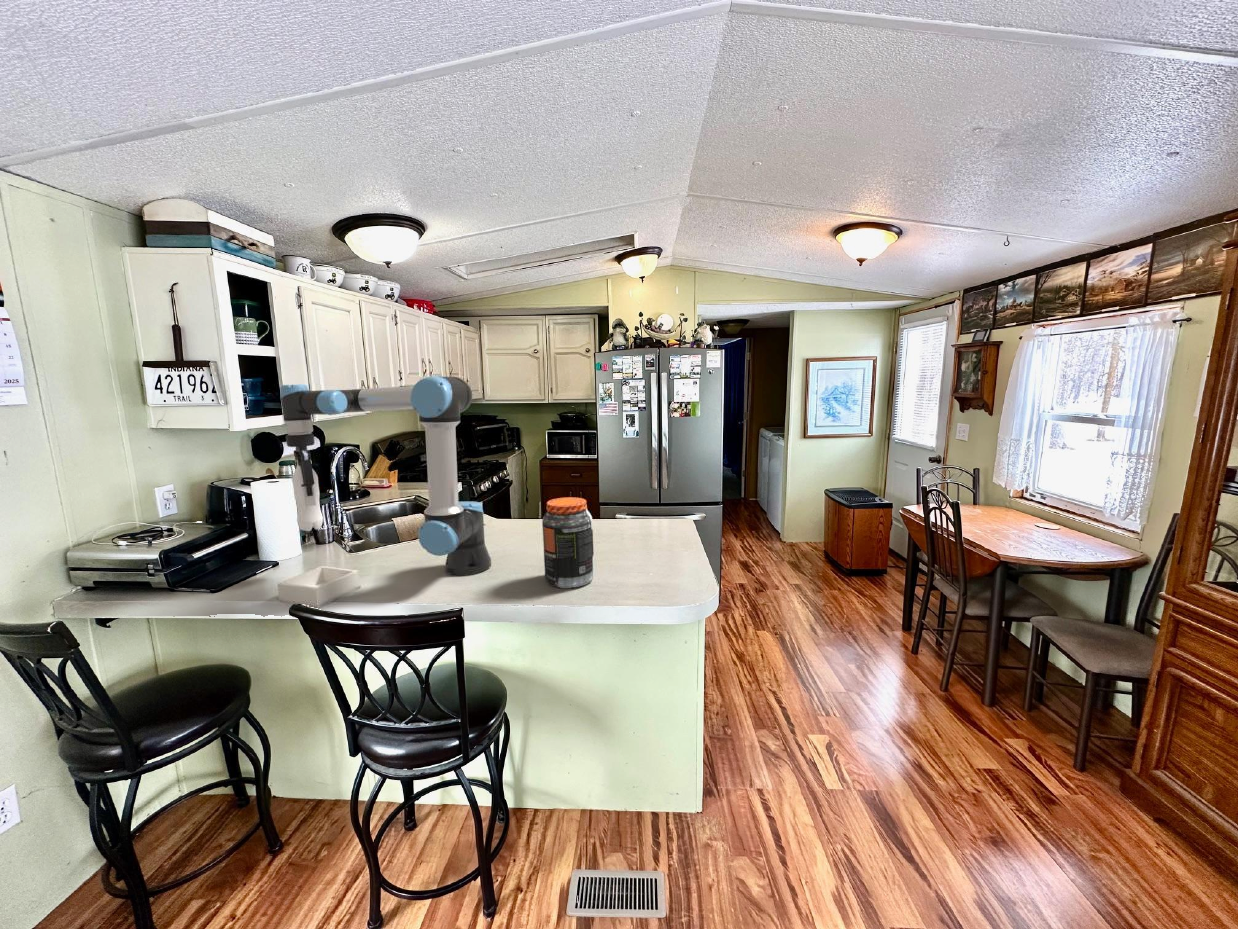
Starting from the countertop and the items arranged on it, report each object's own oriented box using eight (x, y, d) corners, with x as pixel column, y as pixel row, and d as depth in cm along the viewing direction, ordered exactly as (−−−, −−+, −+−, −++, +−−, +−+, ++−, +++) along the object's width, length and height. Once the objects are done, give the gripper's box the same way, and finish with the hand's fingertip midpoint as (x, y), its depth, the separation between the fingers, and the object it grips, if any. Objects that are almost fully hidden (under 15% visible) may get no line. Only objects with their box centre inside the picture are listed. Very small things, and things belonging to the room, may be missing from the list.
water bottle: (293, 530, 163) (283, 454, 159) (314, 525, 169) (305, 451, 165) (307, 533, 160) (297, 455, 156) (328, 527, 166) (320, 452, 162)
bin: (360, 587, 157) (358, 570, 156) (318, 608, 143) (315, 589, 142) (324, 582, 161) (322, 565, 160) (279, 601, 147) (277, 583, 146)
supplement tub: (601, 574, 165) (599, 497, 160) (582, 592, 150) (580, 509, 146) (558, 568, 170) (555, 494, 166) (535, 586, 155) (532, 505, 151)
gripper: (280, 432, 164) (289, 500, 168) (290, 436, 149) (300, 511, 153) (307, 430, 169) (315, 496, 173) (319, 434, 154) (328, 506, 158)
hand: (308, 503), depth 163 cm, fingers closed on water bottle, 7 cm apart
